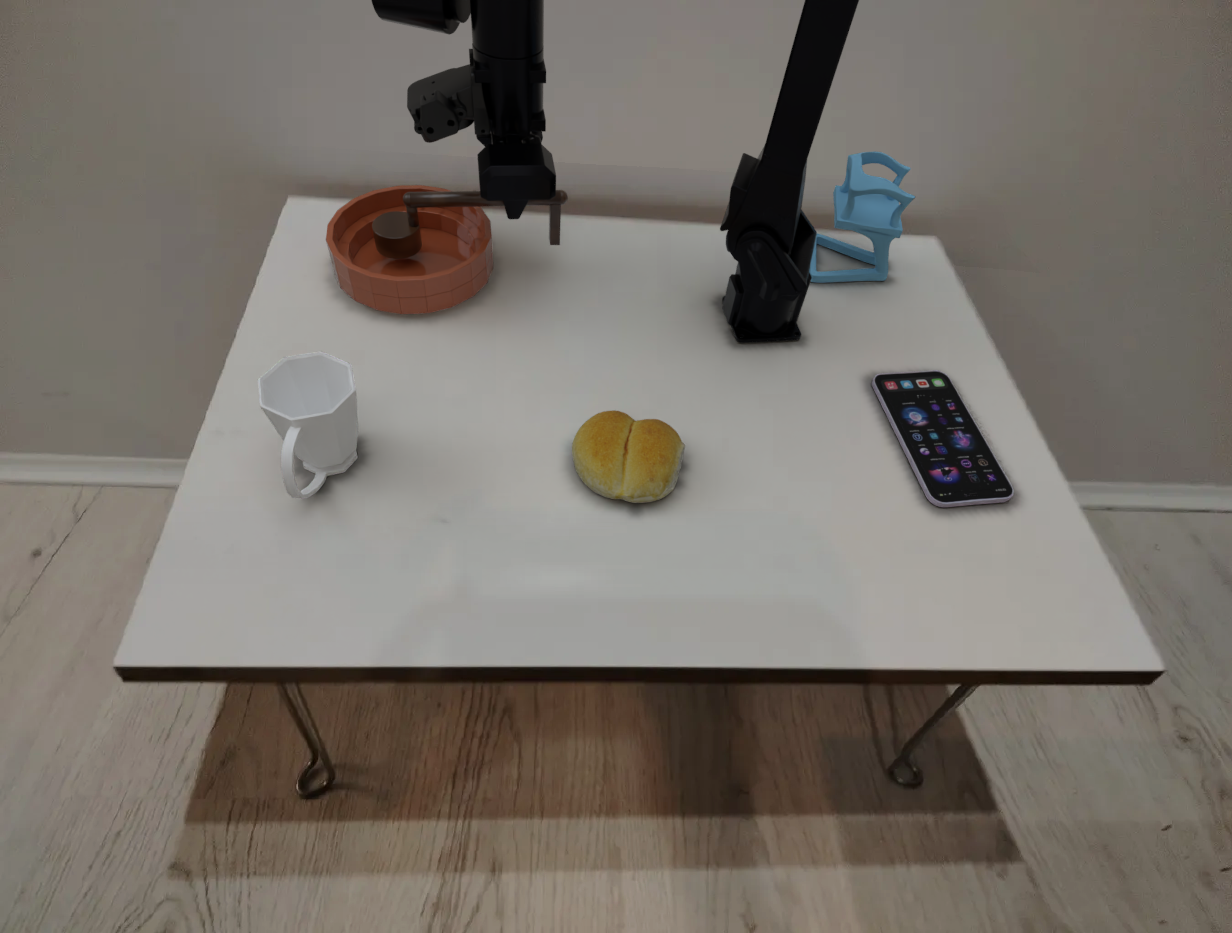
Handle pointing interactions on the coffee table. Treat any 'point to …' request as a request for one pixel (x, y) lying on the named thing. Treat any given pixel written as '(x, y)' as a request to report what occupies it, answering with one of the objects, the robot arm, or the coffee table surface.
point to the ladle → (402, 230)
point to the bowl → (423, 281)
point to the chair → (865, 217)
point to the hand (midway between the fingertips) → (512, 213)
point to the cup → (312, 415)
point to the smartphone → (941, 439)
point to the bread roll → (627, 457)
